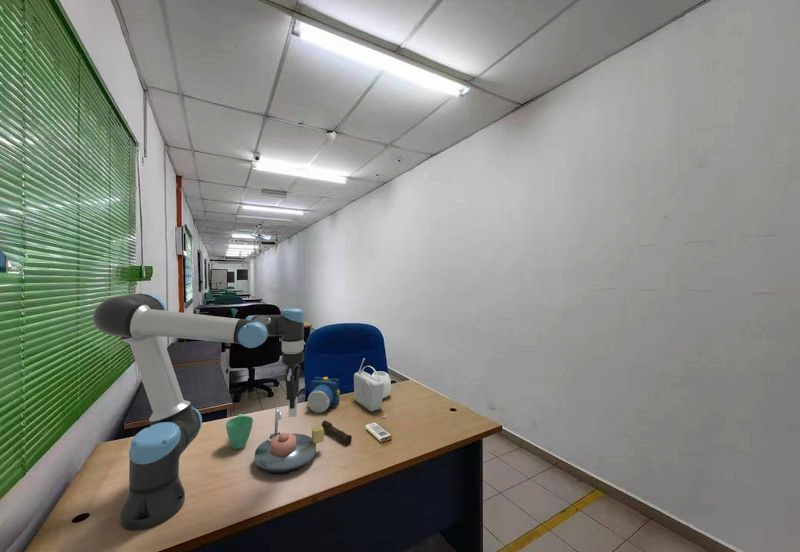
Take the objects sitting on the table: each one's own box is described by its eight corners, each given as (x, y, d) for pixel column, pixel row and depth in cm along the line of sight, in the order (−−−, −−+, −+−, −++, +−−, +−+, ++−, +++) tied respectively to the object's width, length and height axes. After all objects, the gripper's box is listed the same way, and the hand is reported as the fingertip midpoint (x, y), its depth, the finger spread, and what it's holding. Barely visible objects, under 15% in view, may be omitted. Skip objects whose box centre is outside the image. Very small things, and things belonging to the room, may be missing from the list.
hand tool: (352, 443, 133) (352, 432, 133) (344, 447, 130) (345, 436, 130) (326, 427, 146) (327, 417, 146) (319, 430, 143) (319, 420, 143)
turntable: (281, 480, 105) (282, 459, 105) (241, 458, 116) (242, 439, 116) (331, 447, 125) (331, 429, 125) (293, 431, 137) (293, 415, 136)
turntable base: (282, 481, 108) (282, 475, 108) (249, 463, 117) (249, 458, 117) (320, 455, 123) (320, 450, 123) (288, 441, 132) (289, 437, 132)
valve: (314, 400, 174) (313, 374, 172) (340, 402, 172) (340, 377, 170) (304, 413, 161) (303, 386, 159) (332, 416, 159) (331, 389, 157)
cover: (281, 459, 113) (281, 444, 113) (265, 451, 117) (265, 437, 117) (300, 448, 120) (301, 434, 120) (285, 440, 125) (285, 427, 125)
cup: (365, 399, 178) (366, 376, 178) (371, 391, 191) (372, 369, 191) (388, 402, 176) (389, 378, 176) (392, 393, 189) (393, 371, 189)
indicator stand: (270, 436, 135) (271, 405, 135) (279, 434, 138) (280, 404, 137) (274, 447, 127) (275, 414, 127) (284, 445, 130) (285, 412, 129)
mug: (252, 449, 125) (253, 425, 125) (224, 455, 121) (225, 429, 121) (252, 432, 139) (252, 409, 138) (226, 436, 134) (227, 413, 134)
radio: (350, 399, 177) (351, 355, 177) (362, 396, 182) (364, 354, 182) (370, 414, 160) (372, 366, 160) (384, 410, 165) (385, 363, 165)
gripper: (299, 356, 108) (299, 424, 108) (307, 346, 121) (307, 407, 121) (276, 356, 107) (277, 424, 107) (287, 347, 120) (287, 408, 120)
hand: (293, 415), depth 114 cm, fingers closed
